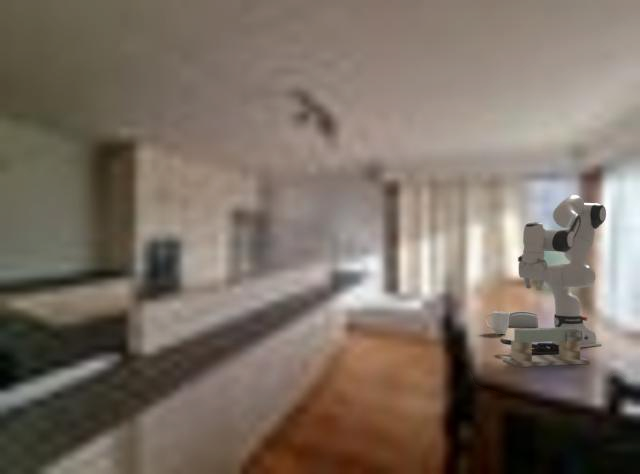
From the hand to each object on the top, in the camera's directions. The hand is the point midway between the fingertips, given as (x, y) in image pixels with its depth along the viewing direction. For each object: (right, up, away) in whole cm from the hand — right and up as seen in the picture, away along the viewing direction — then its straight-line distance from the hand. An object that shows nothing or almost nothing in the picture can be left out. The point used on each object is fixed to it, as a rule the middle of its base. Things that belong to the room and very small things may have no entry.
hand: (533, 289), depth 256 cm
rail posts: (-1, -29, -15) cm, 33 cm away
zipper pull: (-2, -30, -1) cm, 30 cm away
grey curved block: (+21, -29, +73) cm, 82 cm away
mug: (-1, -29, +50) cm, 58 cm away
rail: (-1, -20, -15) cm, 25 cm away
